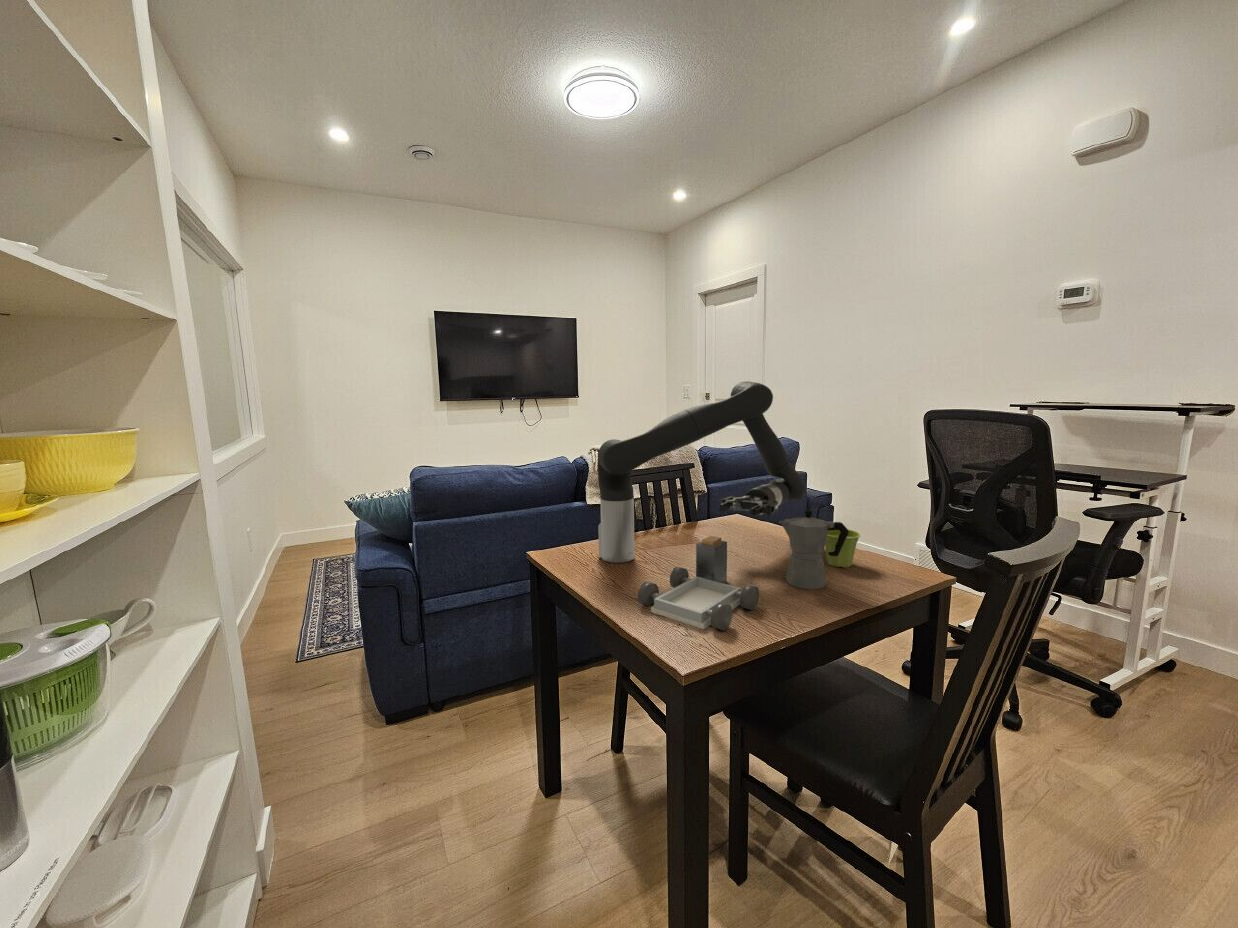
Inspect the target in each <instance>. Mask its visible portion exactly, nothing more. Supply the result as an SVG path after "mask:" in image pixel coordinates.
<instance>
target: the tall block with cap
mask: <svg viewBox="0 0 1238 928" xmlns="http://www.w3.org/2000/svg"><path fill="white" fill-rule="evenodd" d="M695 547H696V549H695V550H696V551H695V554H696V555H695V577H700V578H704V579H708V580H712V581H716V582H720V583H724V584H725V583H726V582H727V581H728V580H727V579H728V577H727V575H728V573H727V572H728V541H726V540H725V541H724V540H722V537H718V536H712V535H710V536H707V537H705V538H702V540H701V541H699V542H698V543H696V544H695Z"/></svg>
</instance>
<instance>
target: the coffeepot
mask: <svg viewBox="0 0 1238 928" xmlns="http://www.w3.org/2000/svg"><path fill="white" fill-rule="evenodd" d="M812 513H813V511H812V510H811V509H806V510H804V514H805V515H804V517H803V516H800V517H799V516H798V517H793V518H786V519H780V521H778V523H779V524H780V525H781V526H782V528H783V529H784V530H785V532H786V534H787V536H788V538H789V540H788V541H789V546H790V548H791V555H790V557H789V561H788V567H787V571H786V575H785V580H786V582H787V583H788V585H790V586H792V587H794V588H797V589H802V590H820V589H823V588H824V587H825V586H826V585H827V578H826V571H825V564H824V558H823V557H822V555H823V553H822V552H823V551H825V542H826V538H827V533H828V530H839V531H840V532H841V533H840V534H839V537H838V541H837V543H836V545H835V551H834V552H828V553H829V555H830V556H838V555H839V553H840V551H841V548H842V546H843V544H844V542H845V539H846V537H847V535H848V528H847V527H846V526H845V525H844V523H842V522H841V521H826V520H825V519H824V520H823V519H821V518H817V517H812Z"/></svg>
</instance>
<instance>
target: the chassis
mask: <svg viewBox="0 0 1238 928" xmlns="http://www.w3.org/2000/svg"><path fill="white" fill-rule="evenodd" d="M689 575H690V574H689V571H688V569H686V568H685V567H680V566H676V567H674V568H673V569H672V571H671V573H670V576H669V584H670V587H672V589H670V590H668V591H665V592H664V593H663V594H660V587H659V586H658V585H657V583H653V582H650V581H644V582H643V583H642V584H641V585H640V587H639V589H638V591H637V592H638V593H637V601H638V602H639V604H641V605H643V606H646V607H649V608H650V612H651V613H654V614H656V615H660V616H662V617H666V618H668V619H672V620H675V621H678V622H680V623H684V624H686V625H689V626H693V627H695V628H699V629H701V630H705V629H706V628H708V627H709V626H712V627H713V628H714V629H717V630H720V631H723V632H724V631H727V629H728V628H729V627H730V626H731V623H732V620H733V610H734V609H735V608H737V607H738V606H740V607H741V608H744V609H747V610H750V611H754V610H755V609H756V607H757V605H758V603H759V599H760V590H759V588H758V586H756V585H752V584H748V583H747V584H744V585H743V587H742V588H741V587H739V586H734V585H730V584H726V583H725V582H724V583H720V582H716V581H712V580H708V579H704V578H700V577H696V576H694V577H693V578H690V576H689Z"/></svg>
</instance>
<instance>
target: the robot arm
mask: <svg viewBox="0 0 1238 928" xmlns="http://www.w3.org/2000/svg"><path fill="white" fill-rule="evenodd" d="M773 400H774V395H773V392H772V390H771V388H769V387H768V386H766V385H765V384H763V383H759V382H755V381H754V382H753V381H740V382H738V383H737V384H735V385H734V386H733V387H732V389H731V392H730V397H728V398H726V399H723V400H719V401H716V402H715V401H714V402H711V403H706V404H700V405H696V406H692V407H689V408H686V409H684V410H682V411H679V412H677V413H675V414H672V415H671V416H667V418H664V420H662V421H660V422H659V423H658V424H657V425H655V426H653V428H650V429H649V430H648V431H645V432H644V433H642V434H639V435H636V436H633V437H631V438H627V439H623V440H620V439H617V438H615V439H614V438H613V439H609V440H606V441H604V442H603V443H602V444H601V445H600V447H599V449H598V451H597V452H598V453H597V473H598V474H597V475H598V476H597V477H598V487H599V496H600V500H599V501H600V523H599V524H598V528H597V529H598V532H597V533H598V557H599V558H601V560H603V561H605V562H608V563H613V564H615V563H617V564H618V563H619V564H620V563H627V562H630V561H632V560H634V559H635V508H634V506H635V505H634V503H635V502H634V497H635V495H634V487H633V483H632V478H631V477H632V475H631V474H632V473H631V471H634V470H635V469H637V468H639V467H640V466H642V465H644V464H645V463H647V462H649V461H651V460H653V459H654V458H657V457H660V456H663V455H664V454H669V453H671V452H673V451H676V450H679V449H681V448H683V447H686V446H689V445H691V444H693V443H696V442H698V441H700V440H702V439H704V438H705V437H708V436H710V435H712V434H714V433H716V432H719V431H721V430H723V429H725V428H727V427H729V426H732V425H734V424H736V423H740V422H743V424H744V426H745V427H746V430H747V431H748V432H749V434H750V436H751V438H752V441H753V442H754V444H755V446H756V449H757V450H758V453H759V455H760V458H761V460H762V462H763V465H764V467H765V471H766V472H767V473H768V475H769V476H771V477H775V479H772V480H770V481H769V483H766V484H762V485H759V486H757V487H753V488H751V489H749V490H748V491H746V494H745V495H743V496H738V497H736V496H735V495H730V496H727V497H724V498H721V499H720V504H719V511H720V512H721V513H725V512H727V511H731V510H733V511H736V512H739V511H741V512H742V511H745V512H748V511H749V515H750V516H749V517H752V518H754V517H756V516H762V515H764V514H765V515H767V516H771V515H774V514H775V513H776V512H778V511H779V510H778V509H779V507H780V506H781V505H783V504H785V503H786V502H787V501H796V500H802V499H803V498H804V497H805V496H806V493H807V486H806V483H805V482H806V481H805V480H804V479H803V478H802V476H801V475H800V473H799V472H798V471H797V470H796V469H795V467H794V466H793V464H791V462H790V460H789V457H788V454H787V452H786V450H785V447H784V446H783V443H782V442H781V440H780V438H778V436H777V434H776V432H775V431H773V429H772V427H771V426H770V425H769V423H768V421H767V420H766V418H765V415H764V414H765V413H766V412H767V411H768V410H769V409H770V407H771V405H772V404H773Z"/></svg>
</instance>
